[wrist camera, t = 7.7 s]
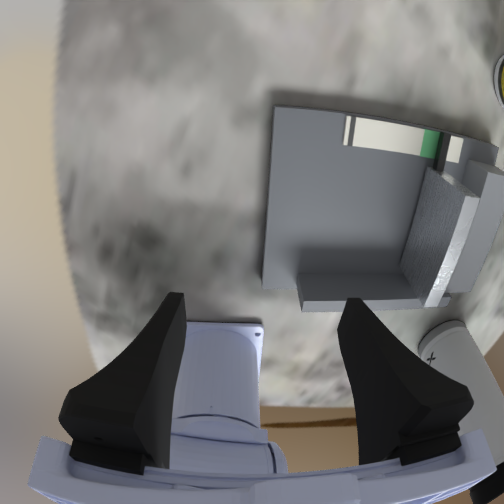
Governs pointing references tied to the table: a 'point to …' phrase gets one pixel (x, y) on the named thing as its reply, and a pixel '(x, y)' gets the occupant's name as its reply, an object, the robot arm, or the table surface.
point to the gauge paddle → (437, 229)
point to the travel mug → (482, 391)
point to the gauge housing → (364, 206)
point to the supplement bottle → (499, 80)
